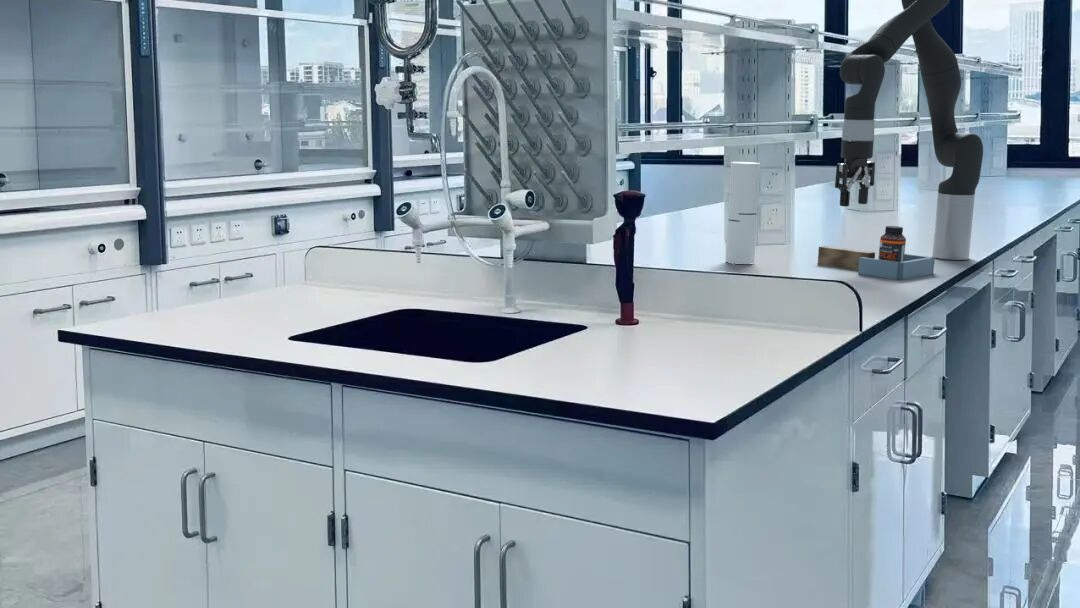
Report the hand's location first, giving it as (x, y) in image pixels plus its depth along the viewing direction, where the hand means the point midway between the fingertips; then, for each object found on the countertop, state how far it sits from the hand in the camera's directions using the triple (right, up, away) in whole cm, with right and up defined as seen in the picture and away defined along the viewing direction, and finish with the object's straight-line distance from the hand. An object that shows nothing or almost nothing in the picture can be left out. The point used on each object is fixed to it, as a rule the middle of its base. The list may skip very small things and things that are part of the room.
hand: (853, 205), depth 276 cm
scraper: (-1, -15, +3) cm, 16 cm away
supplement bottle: (+7, -17, -5) cm, 19 cm away
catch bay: (+8, -17, -6) cm, 20 cm away
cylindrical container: (-27, -14, +6) cm, 31 cm away
